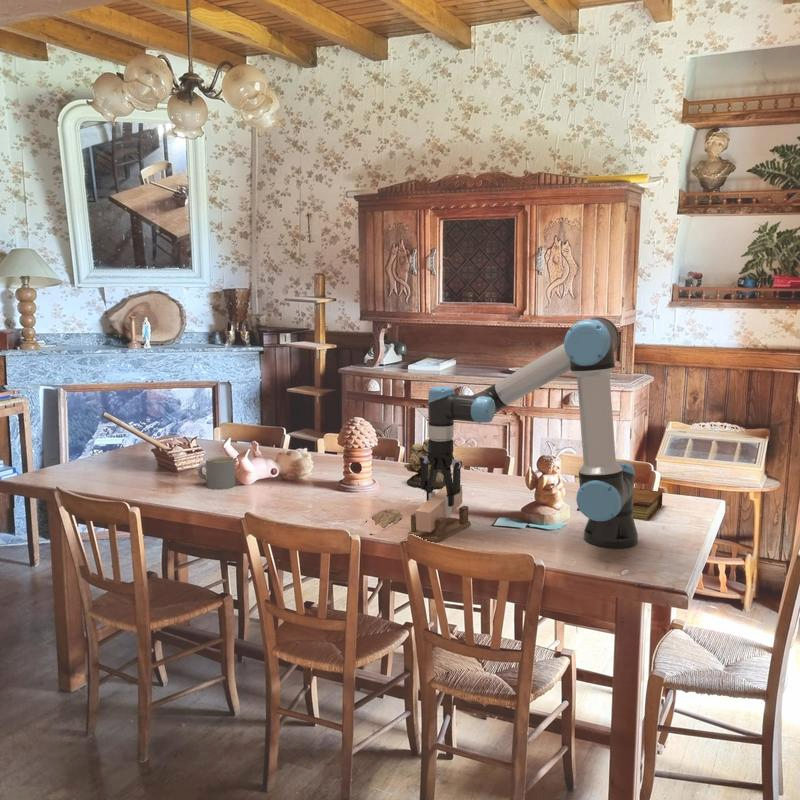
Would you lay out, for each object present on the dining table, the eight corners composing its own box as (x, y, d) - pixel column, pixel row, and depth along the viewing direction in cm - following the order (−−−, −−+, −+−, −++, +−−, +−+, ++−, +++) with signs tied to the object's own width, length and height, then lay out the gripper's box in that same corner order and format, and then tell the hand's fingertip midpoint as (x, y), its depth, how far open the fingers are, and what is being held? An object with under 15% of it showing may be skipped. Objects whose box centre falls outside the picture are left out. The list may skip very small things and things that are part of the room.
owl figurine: (400, 487, 300) (400, 441, 298) (408, 479, 311) (408, 434, 309) (449, 490, 296) (450, 443, 293) (456, 482, 307) (456, 436, 304)
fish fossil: (386, 537, 246) (386, 533, 246) (353, 538, 248) (353, 534, 248) (403, 511, 271) (403, 507, 270) (373, 511, 273) (373, 508, 273)
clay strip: (462, 502, 260) (462, 484, 258) (430, 532, 239) (429, 512, 238) (449, 501, 262) (448, 483, 260) (416, 530, 241) (415, 510, 240)
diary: (661, 508, 277) (662, 491, 276) (648, 523, 261) (649, 505, 260) (593, 498, 288) (594, 481, 287) (576, 511, 272) (577, 494, 271)
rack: (470, 524, 257) (470, 505, 256) (437, 542, 240) (437, 521, 239) (442, 519, 262) (442, 500, 261) (408, 536, 245) (408, 516, 244)
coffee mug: (240, 483, 305) (239, 457, 303) (225, 490, 296) (224, 463, 294) (209, 480, 310) (207, 454, 308) (193, 487, 300) (192, 460, 299)
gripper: (473, 439, 245) (472, 516, 249) (421, 433, 254) (420, 507, 258) (461, 444, 239) (460, 523, 242) (408, 437, 248) (408, 513, 252)
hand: (440, 514), depth 250 cm, fingers closed on clay strip, 5 cm apart
